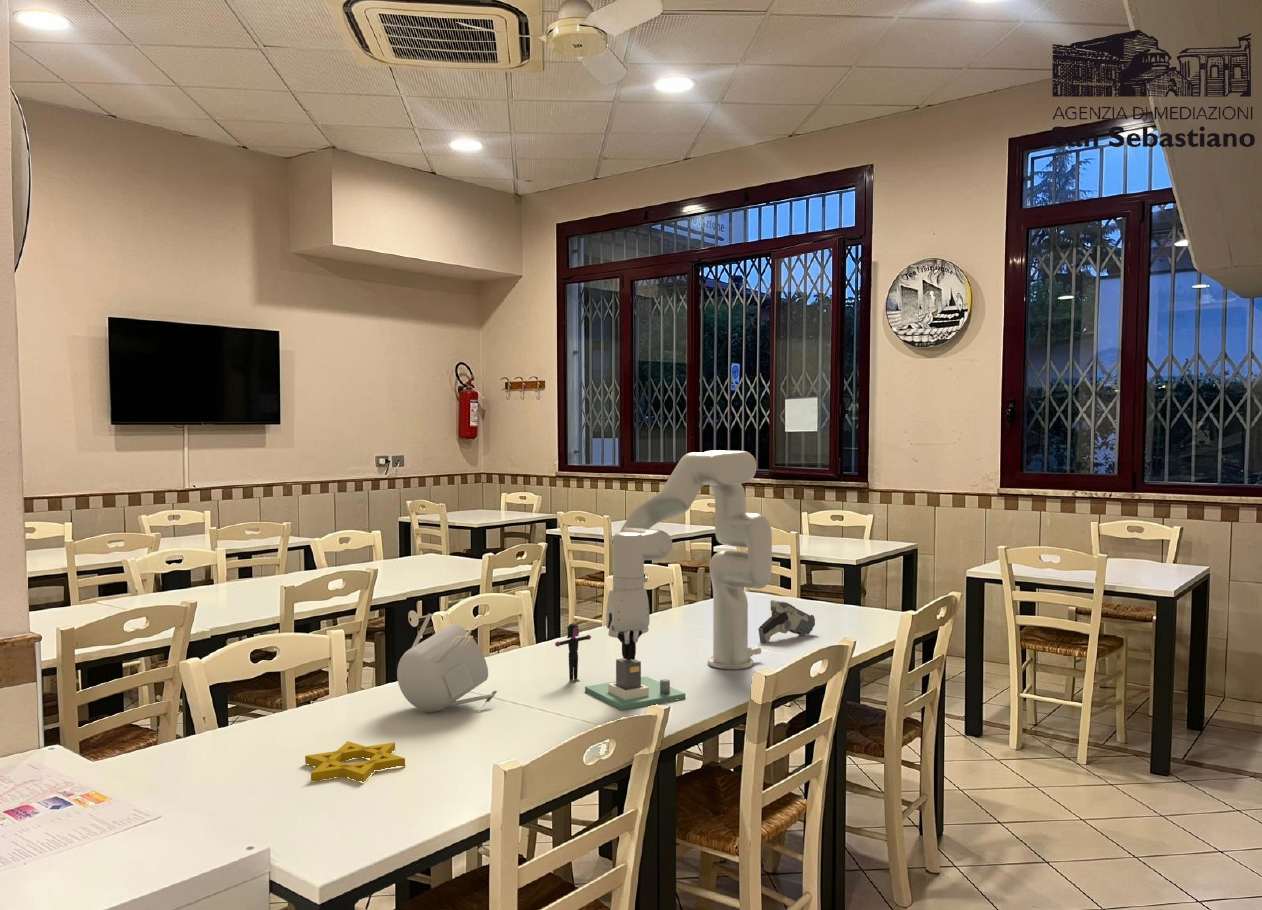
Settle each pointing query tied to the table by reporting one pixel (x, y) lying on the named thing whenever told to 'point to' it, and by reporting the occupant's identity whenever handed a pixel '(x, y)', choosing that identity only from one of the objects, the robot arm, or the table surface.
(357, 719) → the table surface
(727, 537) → the robot arm
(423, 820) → the table surface
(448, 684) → the satellite
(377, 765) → the star of david
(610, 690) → the board
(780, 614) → the toy gun
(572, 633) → the figurine
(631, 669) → the plug
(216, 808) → the table surface
